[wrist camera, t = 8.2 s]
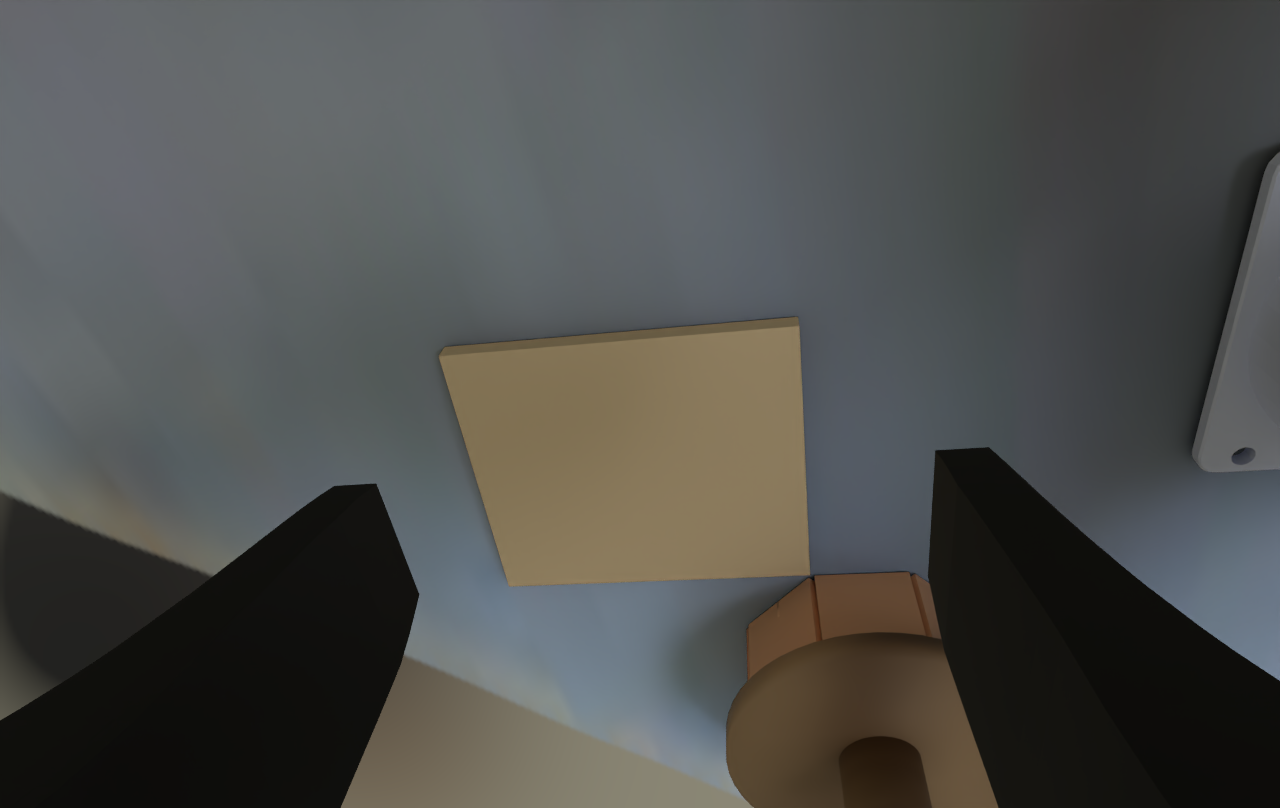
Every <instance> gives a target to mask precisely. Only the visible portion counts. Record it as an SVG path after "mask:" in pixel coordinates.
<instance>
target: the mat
mask: <svg viewBox="0 0 1280 808" xmlns="http://www.w3.org/2000/svg"><path fill="white" fill-rule="evenodd" d="M439 359H440V363H441V366H442V369H443V373H444V376H445V379H446V382H447V386H448V389H449V392H450V395H451V399H452V402H453V405H454V408H455V412H456V415H457V418H458V421H459V425H460V428H461V431H462V434H463V438H464V441H465V444H466V448H467V451H468V454H469V457H470V461H471V464H472V467H473V470H474V474H475V477H476V480H477V483H478V487H479V490H480V493H481V496H482V500H483V503H484V506H485V509H486V513H487V516H488V519H489V523H490V526H491V529H492V532H493V536H494V539H495V542H496V545H497V549H498V552H499V555H500V558H501V562H502V565H503V568H504V571H505V575H506V578H507V581H508V584H509V586H536V585H563V584H589V583H616V582H643V581H670V580H696V579H723V578H750V577H776V576H803V575H810V560H809V537H808V514H807V491H806V467H805V444H804V421H803V398H802V374H801V351H800V328H799V320H798V317H790V318H778V319H766V320H755V321H743V322H731V323H719V324H708V325H696V326H684V327H673V328H661V329H649V330H638V331H626V332H614V333H603V334H591V335H579V336H567V337H556V338H544V339H532V340H521V341H509V342H497V343H486V344H474V345H462V346H450V347H444V348H443V350H442V352H441V353H440V355H439Z"/></svg>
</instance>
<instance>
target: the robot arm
mask: <svg viewBox="0 0 1280 808" xmlns="http://www.w3.org/2000/svg"><path fill="white" fill-rule="evenodd" d="M1245 447H1246V448H1245ZM1241 448H1245V450H1244V451H1243V452H1241V453H1240V454H1237V455H1233V454H1234V452H1236V451H1237V450H1239V449H1241ZM1232 455H1233V456H1232ZM1192 457H1193V459H1194V460H1195V462H1196V463H1197V464H1198V465H1199V467H1200V468H1201V469H1203V470H1205V471H1207V472H1214V473H1218V472H1237V471H1256V470H1275V469H1280V152H1279V153H1278V154H1276V155H1275V156H1274V158H1273V159H1272V160H1271V161H1270V162H1269V163H1268V165H1267V168H1266V170H1265V172H1264V175H1263V179H1262V183H1261V187H1260V191H1259V195H1258V198H1257V202H1256V206H1255V210H1254V214H1253V218H1252V222H1251V225H1250V229H1249V233H1248V237H1247V241H1246V245H1245V249H1244V252H1243V256H1242V260H1241V264H1240V268H1239V272H1238V275H1237V279H1236V283H1235V287H1234V291H1233V295H1232V299H1231V302H1230V306H1229V310H1228V314H1227V318H1226V322H1225V326H1224V329H1223V333H1222V337H1221V341H1220V345H1219V349H1218V352H1217V356H1216V360H1215V364H1214V368H1213V372H1212V376H1211V379H1210V383H1209V387H1208V391H1207V395H1206V399H1205V403H1204V406H1203V410H1202V414H1201V418H1200V422H1199V426H1198V429H1197V433H1196V437H1195V441H1194V445H1193V449H1192ZM928 578H929V583H930V588H931V593H932V597H933V602H934V607H935V612H936V617H937V621H938V626H939V630H940V634H941V639H942V643H943V648H944V652H945V655H946V658H947V661H948V664H949V667H950V670H951V673H952V676H953V678H954V681H955V684H956V687H957V690H958V693H959V696H960V699H961V702H962V705H963V708H964V710H965V713H966V716H967V719H968V722H969V725H970V728H971V730H972V733H973V736H974V739H975V742H976V745H977V748H978V750H979V753H980V756H981V759H982V762H983V765H984V768H985V770H986V773H987V776H988V779H989V782H990V785H991V788H992V790H993V793H994V796H995V799H996V802H997V805H998V808H1280V681H1279V680H1277V679H1276V678H1274V677H1273V676H1271V675H1270V674H1268V673H1267V672H1265V671H1264V670H1262V669H1261V668H1259V667H1258V666H1256V665H1255V664H1253V663H1252V662H1250V661H1249V660H1247V659H1246V658H1244V657H1243V656H1241V655H1240V654H1238V653H1237V652H1235V651H1234V650H1232V649H1231V648H1230V647H1228V646H1227V645H1225V644H1224V643H1222V642H1221V641H1220V640H1218V639H1217V638H1215V637H1214V636H1213V635H1211V634H1210V633H1208V632H1207V631H1205V630H1204V629H1203V628H1201V627H1200V626H1199V625H1197V624H1196V623H1195V622H1193V621H1192V620H1191V619H1189V618H1188V617H1187V616H1185V615H1184V614H1183V613H1181V612H1180V611H1179V610H1177V609H1176V608H1175V607H1174V606H1172V605H1171V604H1170V603H1168V602H1167V601H1166V600H1164V599H1163V598H1162V597H1160V596H1159V595H1158V594H1156V593H1155V592H1154V591H1152V590H1151V589H1150V588H1148V587H1147V586H1146V585H1145V584H1143V583H1142V582H1141V581H1140V580H1138V579H1137V578H1136V577H1135V576H1133V575H1132V574H1131V573H1130V572H1128V571H1127V570H1126V569H1125V568H1124V567H1123V566H1121V565H1120V564H1119V563H1118V562H1117V561H1116V560H1114V559H1113V558H1112V557H1111V556H1110V555H1108V554H1107V553H1106V552H1105V551H1104V550H1103V549H1101V548H1100V547H1099V546H1098V545H1097V544H1095V543H1094V542H1093V541H1092V540H1091V539H1090V538H1088V537H1087V536H1086V535H1085V534H1084V533H1083V532H1081V531H1080V530H1079V529H1078V528H1077V527H1076V526H1075V525H1073V524H1072V523H1071V522H1070V521H1069V520H1068V519H1067V518H1066V517H1064V516H1063V515H1062V514H1061V513H1060V512H1059V511H1058V510H1057V509H1056V508H1055V507H1053V506H1052V505H1051V504H1050V503H1049V502H1048V501H1047V500H1046V499H1045V498H1044V497H1042V496H1041V495H1040V494H1039V493H1038V492H1037V491H1036V490H1035V489H1034V488H1033V487H1032V486H1031V485H1029V484H1028V483H1027V482H1026V481H1025V480H1024V479H1023V478H1022V477H1021V476H1020V475H1019V474H1018V473H1017V472H1015V471H1014V470H1013V469H1012V468H1011V467H1010V466H1009V465H1008V464H1007V463H1006V462H1005V461H1004V460H1002V459H1001V458H1000V457H999V456H998V455H997V454H996V453H995V452H993V451H992V450H991V449H990V448H989V447H987V448H970V449H953V450H936V451H935V468H934V484H933V501H932V518H931V535H930V552H929V569H928ZM418 598H419V593H418V590H417V587H416V585H415V582H414V580H413V577H412V575H411V572H410V569H409V567H408V564H407V562H406V559H405V556H404V554H403V551H402V549H401V546H400V544H399V541H398V538H397V536H396V533H395V531H394V528H393V526H392V523H391V520H390V518H389V515H388V513H387V510H386V508H385V505H384V502H383V500H382V497H381V495H380V492H379V489H378V487H377V484H361V485H344V486H334V487H332V488H331V489H329V490H328V491H326V492H324V493H323V494H321V495H320V496H318V497H317V498H316V499H314V500H313V501H311V502H310V503H309V504H307V505H306V506H304V507H303V508H302V509H300V510H299V511H298V512H296V513H295V514H294V515H292V516H291V517H290V518H288V519H287V520H286V521H284V522H283V523H282V524H280V525H279V526H278V527H277V528H275V529H274V530H273V531H271V532H270V533H269V534H268V535H266V536H265V537H264V538H262V539H261V540H260V541H258V542H257V543H256V544H255V545H253V546H252V547H251V548H249V549H248V550H247V551H246V552H244V553H243V554H242V555H240V556H239V557H238V558H236V559H235V560H234V561H233V562H231V563H230V564H229V565H227V566H226V567H225V568H223V569H222V570H221V571H220V572H218V573H217V574H216V575H214V576H213V577H212V578H210V579H209V580H208V581H207V582H205V583H204V584H203V585H201V586H200V587H199V588H197V589H196V590H195V591H193V592H192V593H191V594H190V595H188V596H186V597H185V598H184V599H182V600H181V601H179V602H178V603H177V604H175V605H174V606H173V607H171V608H170V609H169V610H167V611H166V612H164V613H163V614H161V615H160V616H159V617H157V618H156V619H155V620H153V621H152V622H150V623H149V624H148V625H146V626H145V627H143V628H142V629H141V630H140V631H138V632H137V633H135V634H134V635H132V636H131V637H130V638H128V639H127V640H125V641H124V642H123V643H121V644H120V645H118V646H117V647H116V648H114V649H113V650H111V651H110V652H108V653H107V654H105V655H104V656H102V657H101V658H100V659H98V660H96V661H95V662H93V663H92V664H90V665H89V666H87V667H86V668H84V669H83V670H81V671H80V672H78V673H76V674H75V675H73V676H72V677H70V678H69V679H67V680H66V681H64V682H63V683H61V684H59V685H58V686H56V687H54V688H53V689H51V690H50V691H48V692H46V693H45V694H43V695H42V696H40V697H38V698H37V699H35V700H33V701H32V702H30V703H29V704H27V705H25V706H24V707H22V708H21V709H19V710H17V711H16V712H14V713H12V714H11V715H9V716H7V717H6V718H4V719H2V720H0V808H341V805H342V803H343V801H344V798H345V796H346V794H347V791H348V789H349V786H350V784H351V782H352V779H353V777H354V774H355V772H356V770H357V768H358V765H359V763H360V761H361V758H362V756H363V754H364V751H365V749H366V747H367V744H368V742H369V740H370V737H371V735H372V732H373V730H374V728H375V725H376V723H377V721H378V718H379V716H380V713H381V711H382V709H383V706H384V704H385V701H386V698H387V697H388V694H389V692H390V689H391V687H392V685H393V682H394V680H395V677H396V675H397V672H398V669H399V667H400V665H401V662H402V658H403V655H404V651H405V648H406V644H407V641H408V637H409V634H410V630H411V626H412V622H413V618H414V614H415V610H416V606H417V602H418Z"/></svg>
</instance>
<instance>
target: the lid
mask: <svg viewBox="0 0 1280 808" xmlns="http://www.w3.org/2000/svg"><path fill="white" fill-rule="evenodd" d="M726 760H727V766H728V770H729V774H730V776H731V778H732V780H733V783H734V785H735V786H736V788H737V789H738V791H739V792H740V793H741V795H742V796H743V797H744V798H745V799H746V800H747V801H748V802H749V804H750V805H751V806H753V807H754V808H998V805H997V802H996V799H995V796H994V793H993V790H992V788H991V785H990V782H989V779H988V776H987V773H986V770H985V768H984V765H983V762H982V759H981V756H980V753H979V750H978V748H977V745H976V742H975V739H974V736H973V733H972V730H971V728H970V725H969V722H968V719H967V716H966V713H965V710H964V708H963V705H962V702H961V699H960V696H959V693H958V690H957V687H956V684H955V681H954V678H953V676H952V673H951V670H950V667H949V664H948V661H947V658H946V655H945V652H944V648H943V643H942V639H938V638H933V637H928V636H924V635H916V634H908V633H893V632H873V633H858V634H851V635H844V636H838V637H833V638H829V639H825V640H821V641H817V642H813V643H811V644H808V645H805V646H802V647H800V648H797V649H794V650H792V651H790V652H788V653H786V654H784V655H782V656H780V657H778V658H776V659H775V660H773V661H772V662H770V663H769V664H767V665H765V666H764V667H763V668H761V669H760V670H759V671H758V672H757V673H755V674H754V675H753V676H752V677H751V678H750V679H749V680H748V681H747V682H746V683H745V685H744V686H743V687H742V688H741V689H740V691H739V692H738V694H737V696H736V697H735V699H734V700H733V703H732V705H731V708H730V710H729V713H728V718H727V724H726Z"/></svg>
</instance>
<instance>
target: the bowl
mask: <svg viewBox="0 0 1280 808" xmlns="http://www.w3.org/2000/svg"><path fill="white" fill-rule="evenodd" d="M814 578H815V581H813V580H812V579H810V578H807V579H806V580H805V581H804V582H802V583H801V584H800V585H799V586H797V587H796V588H795V589H793V590H792V591H791V592H790V593H788V594H787V595H786V596H785V597H783V598H782V599H781V600H779V601H778V602H777V603H776V604H774V605H773V606H772V607H770V608H769V609H768V610H767V611H765V612H764V613H763V614H762V615H760V616H759V617H758V618H756V619H755V620H754V621H753V622H751V623H750V624H749V625H748V628H749V629H746V630H747V672H748V680H749V679H750V678H751V677H752V676H753V675H754V674H755V673H757V672H758V671H759V670H760V669H761V668H763V667H764V666H765V665H767V664H769V663H770V662H772V661H773V660H775V659H776V658H778V657H780V656H782V655H784V654H786V653H788V652H790V651H792V650H794V649H797V648H800V647H802V646H805V645H808V644H811V643H813V642H817V641H821V640H825V639H829V638H833V637H838V636H844V635H851V634H858V633H873V632H893V633H908V634H916V635H924V636H928V637H933V638H938V639H941V634H940V630H939V626H938V621H937V617H936V612H935V607H934V602H933V597H932V593H931V588H930V584H929V583H928V582H926V581H925V580H924V579H922V578H921V577H919V576H918V575H916V574H914V575H912V576H911V577H910V573H909V572H895V573H868V574H842V575H815V576H814Z"/></svg>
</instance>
